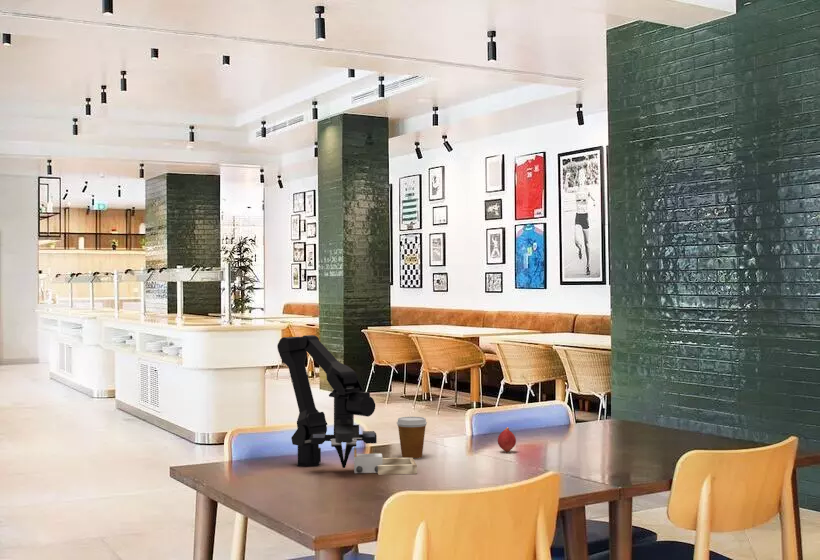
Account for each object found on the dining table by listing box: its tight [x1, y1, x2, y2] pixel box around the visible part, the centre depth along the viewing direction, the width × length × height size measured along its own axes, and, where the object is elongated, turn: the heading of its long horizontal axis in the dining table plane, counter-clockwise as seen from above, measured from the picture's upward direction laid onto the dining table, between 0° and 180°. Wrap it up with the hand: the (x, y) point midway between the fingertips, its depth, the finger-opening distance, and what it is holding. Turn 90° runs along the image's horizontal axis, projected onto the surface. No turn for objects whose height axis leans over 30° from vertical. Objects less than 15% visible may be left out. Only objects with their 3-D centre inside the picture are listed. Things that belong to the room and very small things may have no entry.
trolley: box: [353, 446, 384, 474], centre depth 271 cm, size 8×7×6 cm
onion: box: [497, 426, 517, 453], centre depth 301 cm, size 6×6×8 cm
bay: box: [377, 457, 418, 476], centre depth 272 cm, size 11×12×2 cm
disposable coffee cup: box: [396, 416, 428, 459], centre depth 293 cm, size 10×10×12 cm
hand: (343, 467), depth 270 cm, fingers closed
